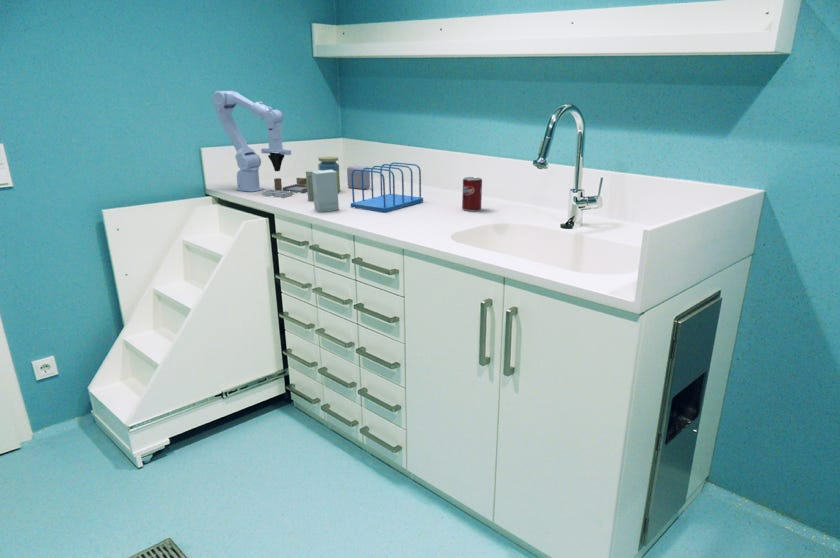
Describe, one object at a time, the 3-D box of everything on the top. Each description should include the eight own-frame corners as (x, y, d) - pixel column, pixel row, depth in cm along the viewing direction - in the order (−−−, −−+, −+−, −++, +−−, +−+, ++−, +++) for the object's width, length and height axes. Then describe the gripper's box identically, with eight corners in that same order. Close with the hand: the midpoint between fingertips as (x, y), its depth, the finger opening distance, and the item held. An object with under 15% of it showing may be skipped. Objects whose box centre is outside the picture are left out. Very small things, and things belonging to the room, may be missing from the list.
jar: (332, 189, 266) (331, 155, 261) (344, 192, 259) (343, 157, 254) (315, 191, 260) (313, 157, 255) (326, 194, 253) (324, 159, 249)
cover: (296, 185, 267) (296, 177, 266) (308, 182, 275) (308, 175, 274) (312, 186, 264) (312, 179, 262) (324, 183, 271) (324, 176, 270)
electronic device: (346, 188, 269) (345, 166, 266) (352, 186, 273) (352, 165, 270) (363, 190, 264) (363, 167, 261) (370, 188, 268) (369, 166, 265)
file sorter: (390, 197, 248) (389, 161, 243) (423, 202, 238) (423, 164, 233) (350, 207, 229) (348, 168, 224) (385, 213, 219) (384, 172, 214)
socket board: (261, 195, 251) (261, 191, 251) (271, 193, 257) (271, 189, 256) (283, 198, 246) (283, 194, 246) (293, 195, 252) (293, 191, 251)
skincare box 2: (334, 207, 228) (332, 169, 223) (339, 210, 223) (337, 171, 218) (313, 209, 224) (311, 170, 219) (318, 212, 219) (315, 172, 214)
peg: (273, 192, 258) (272, 179, 256) (278, 191, 260) (277, 178, 258) (279, 193, 256) (278, 179, 255) (283, 192, 259) (282, 178, 257)
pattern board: (282, 191, 261) (282, 187, 260) (309, 184, 277) (308, 181, 276) (303, 193, 256) (302, 189, 256) (328, 186, 272) (328, 182, 272)
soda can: (468, 212, 220) (469, 180, 216) (458, 208, 226) (459, 177, 222) (484, 210, 223) (486, 179, 219) (474, 207, 229) (475, 176, 225)
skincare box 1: (325, 199, 243) (323, 169, 239) (322, 201, 239) (321, 171, 235) (310, 199, 244) (308, 169, 240) (307, 201, 240) (305, 171, 236)
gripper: (255, 139, 251) (258, 171, 255) (282, 140, 245) (285, 173, 249) (266, 137, 257) (268, 168, 261) (293, 139, 251) (295, 171, 255)
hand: (277, 171), depth 256 cm, fingers closed
